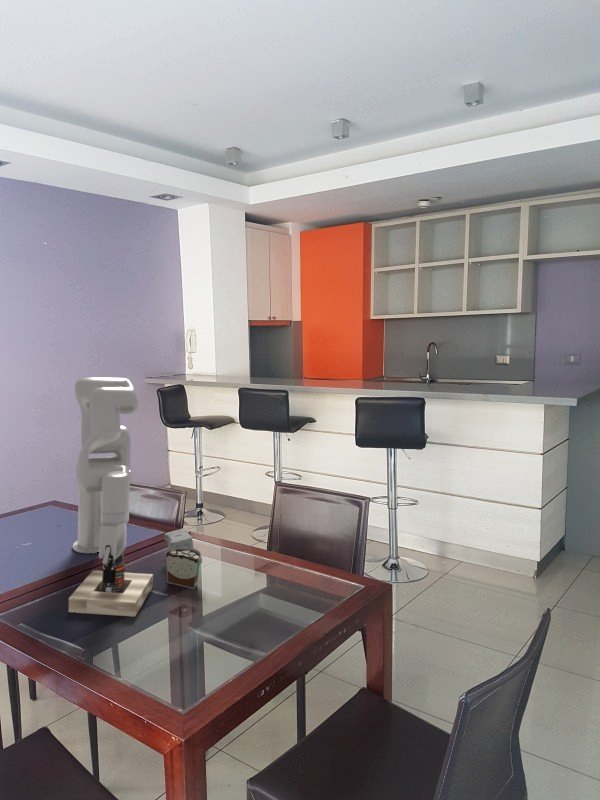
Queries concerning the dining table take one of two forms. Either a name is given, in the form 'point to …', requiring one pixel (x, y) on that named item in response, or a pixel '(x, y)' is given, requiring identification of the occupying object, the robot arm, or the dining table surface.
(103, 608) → the socket board
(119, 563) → the supplement bottle
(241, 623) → the dining table surface
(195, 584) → the food container
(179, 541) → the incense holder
